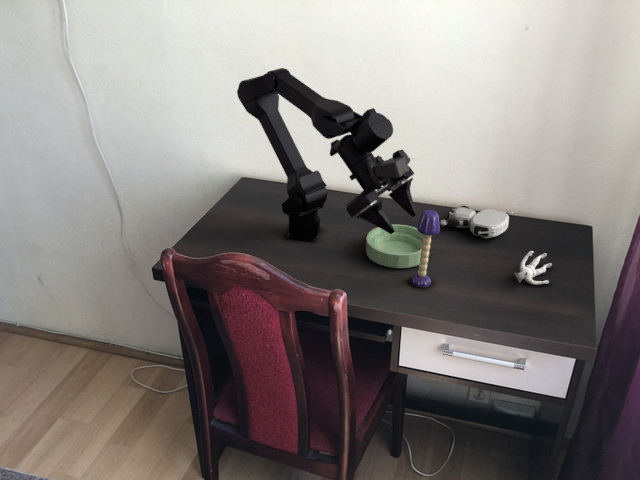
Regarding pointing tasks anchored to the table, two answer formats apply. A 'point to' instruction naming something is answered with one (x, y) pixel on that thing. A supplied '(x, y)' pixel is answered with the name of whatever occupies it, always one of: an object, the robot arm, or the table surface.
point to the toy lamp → (426, 246)
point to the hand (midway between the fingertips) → (404, 224)
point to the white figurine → (532, 270)
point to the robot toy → (478, 221)
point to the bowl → (395, 246)
